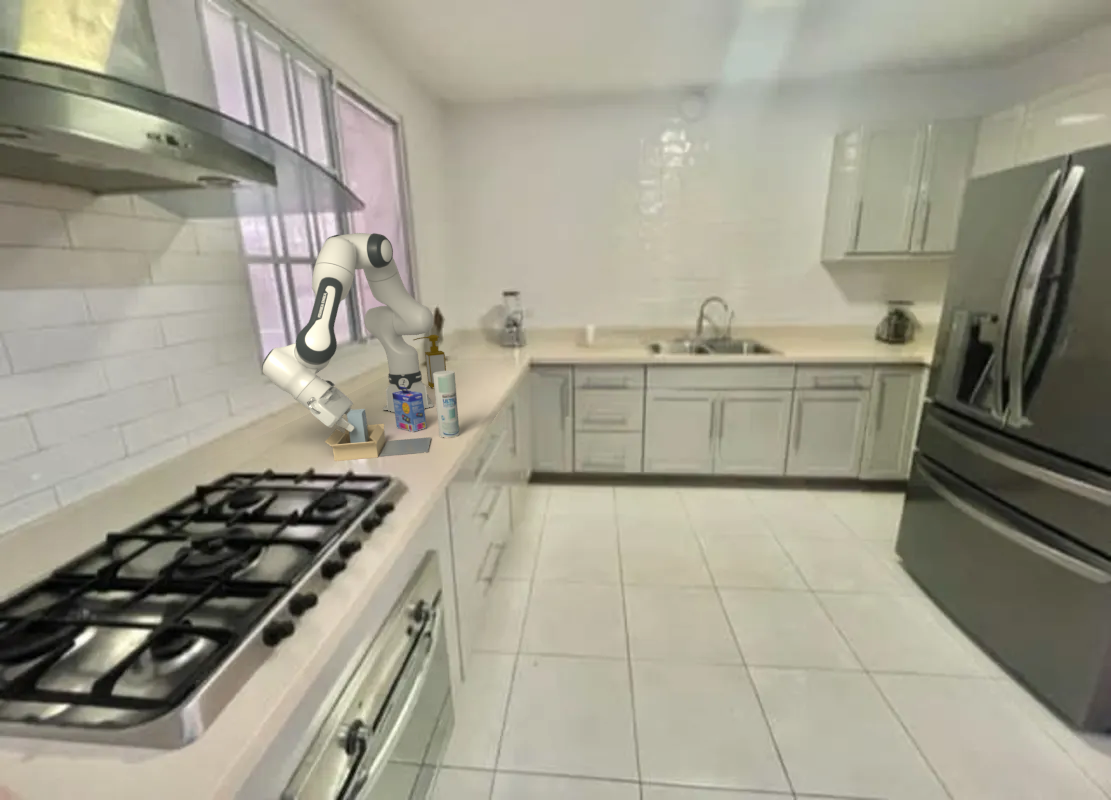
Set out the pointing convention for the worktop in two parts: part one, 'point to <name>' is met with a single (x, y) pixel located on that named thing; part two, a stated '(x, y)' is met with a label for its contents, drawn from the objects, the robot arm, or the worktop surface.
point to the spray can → (446, 403)
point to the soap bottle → (434, 359)
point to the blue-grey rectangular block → (358, 426)
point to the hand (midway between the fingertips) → (356, 425)
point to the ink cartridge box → (409, 410)
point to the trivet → (406, 446)
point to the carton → (357, 444)
